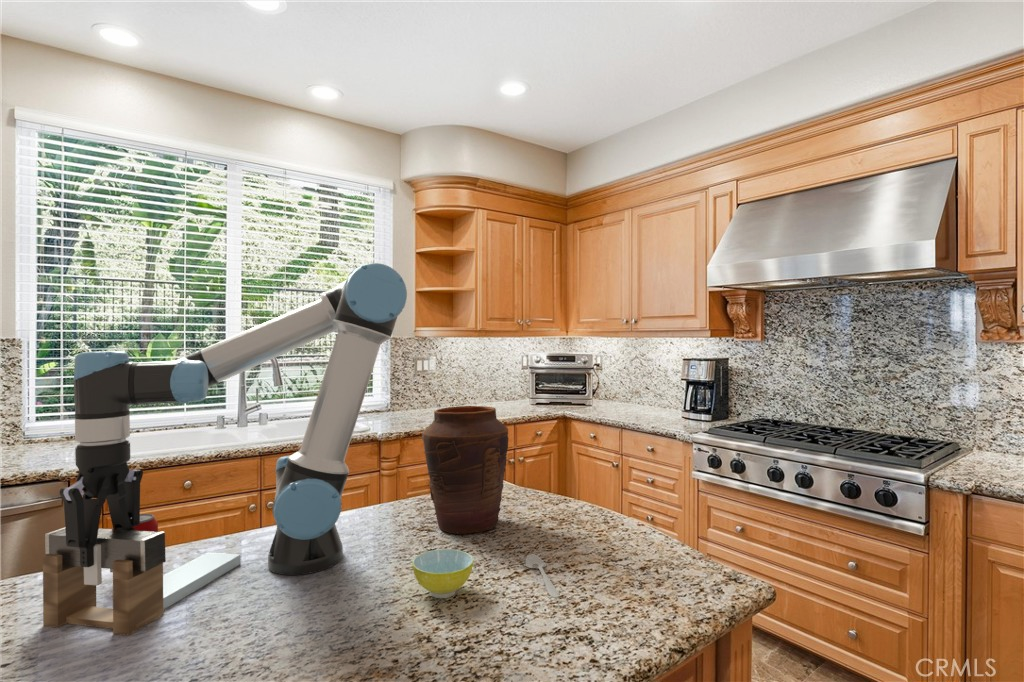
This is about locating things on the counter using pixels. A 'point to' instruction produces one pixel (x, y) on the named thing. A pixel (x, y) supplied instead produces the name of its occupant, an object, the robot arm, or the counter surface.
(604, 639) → the counter surface
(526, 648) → the counter surface
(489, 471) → the vase
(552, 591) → the spoon
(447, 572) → the bowl
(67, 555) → the rail
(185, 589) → the board
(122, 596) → the rack
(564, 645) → the counter surface
